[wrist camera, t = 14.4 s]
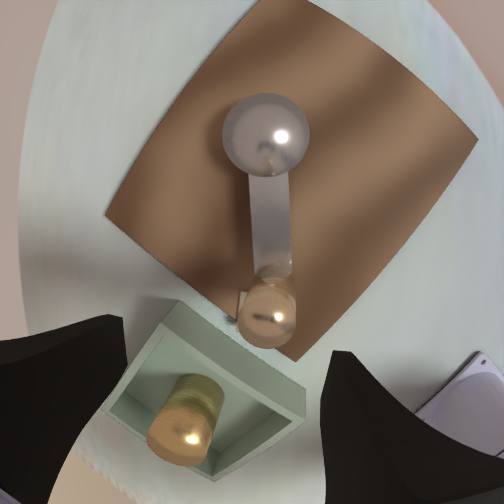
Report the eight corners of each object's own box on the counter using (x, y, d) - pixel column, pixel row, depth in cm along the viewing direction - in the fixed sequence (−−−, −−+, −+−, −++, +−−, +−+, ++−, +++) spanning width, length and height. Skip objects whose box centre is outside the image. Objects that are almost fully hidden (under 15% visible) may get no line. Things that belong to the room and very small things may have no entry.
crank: (227, 104, 17) (194, 73, 11) (305, 98, 16) (309, 62, 10) (240, 296, 19) (216, 347, 13) (313, 295, 19) (319, 348, 13)
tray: (305, 389, 22) (305, 420, 18) (222, 454, 25) (214, 481, 21) (179, 300, 21) (160, 322, 18) (119, 386, 24) (101, 409, 21)
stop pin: (235, 395, 22) (218, 453, 16) (205, 419, 23) (184, 472, 17) (192, 364, 22) (164, 417, 16) (165, 390, 23) (136, 440, 17)
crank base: (471, 140, 16) (480, 139, 15) (290, 359, 21) (290, 369, 20) (277, -9, 15) (276, -18, 14) (109, 219, 21) (99, 222, 19)
